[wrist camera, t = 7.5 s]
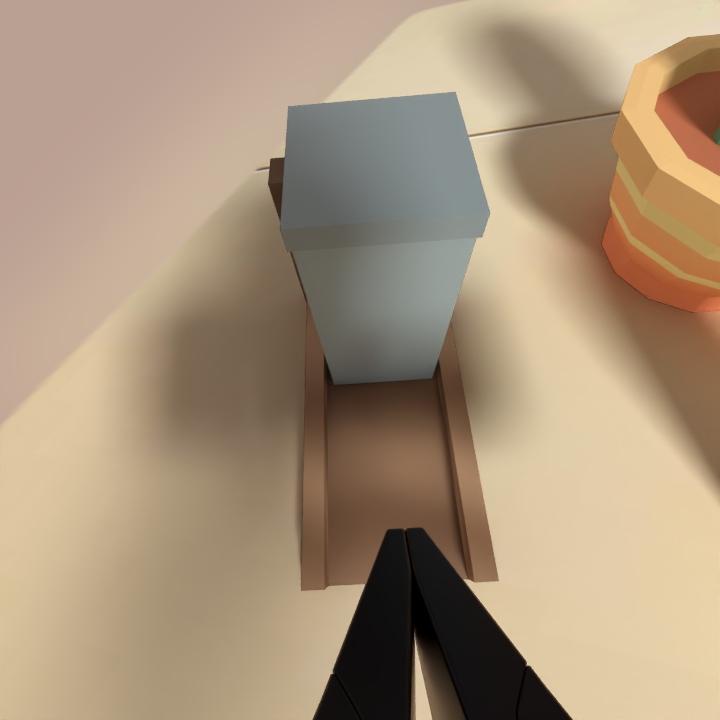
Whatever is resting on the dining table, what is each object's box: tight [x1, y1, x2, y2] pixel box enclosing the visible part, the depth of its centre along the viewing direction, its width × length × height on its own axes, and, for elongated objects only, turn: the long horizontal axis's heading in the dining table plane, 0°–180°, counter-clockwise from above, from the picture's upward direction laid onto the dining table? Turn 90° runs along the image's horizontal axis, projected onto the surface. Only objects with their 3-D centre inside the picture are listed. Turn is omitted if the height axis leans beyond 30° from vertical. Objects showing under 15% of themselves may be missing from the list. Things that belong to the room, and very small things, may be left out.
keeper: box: [280, 92, 490, 385], centre depth 15 cm, size 5×5×11 cm
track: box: [268, 147, 499, 591], centre depth 15 cm, size 16×8×9 cm, turn 3°
